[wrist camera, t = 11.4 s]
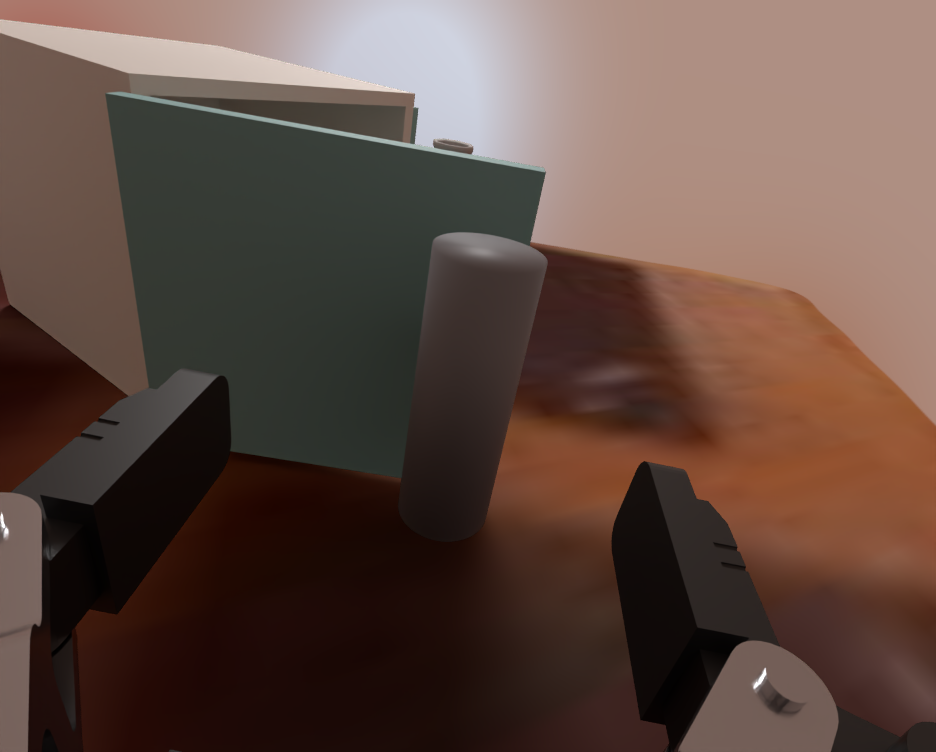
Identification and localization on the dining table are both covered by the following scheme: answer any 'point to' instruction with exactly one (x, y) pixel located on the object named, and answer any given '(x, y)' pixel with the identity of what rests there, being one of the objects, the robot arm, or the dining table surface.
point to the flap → (336, 292)
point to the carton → (94, 169)
